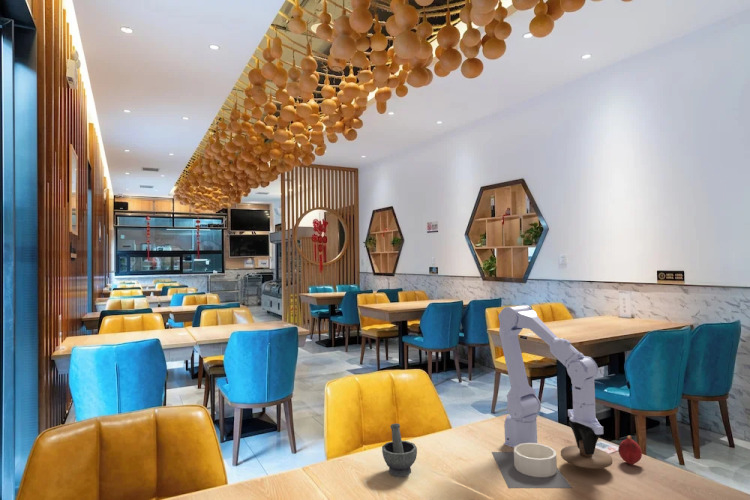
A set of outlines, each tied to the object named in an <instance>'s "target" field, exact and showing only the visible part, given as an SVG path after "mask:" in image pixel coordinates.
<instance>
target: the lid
mask: <svg viewBox="0 0 750 500" xmlns="http://www.w3.org/2000/svg"><path fill="white" fill-rule="evenodd" d="M560 457H561V458H562V459H563V460H564V461H565V462H566V463H568V464H571V465H574V466H577V467H580V468H586V469H596V470H597V469H605V468H609V467H611V466H612V465H613V457H612V455H611V454H610V453H609V452H607V451H604V450H603V449H599V448H596V447H595V451H594V454H590V455H587V454H585V450H584V443H583V440H579V448H578V446H577V445H568V446H565V447H563V448H562V449H561V450H560Z"/></svg>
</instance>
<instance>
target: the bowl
mask: <svg viewBox="0 0 750 500" xmlns="http://www.w3.org/2000/svg"><path fill="white" fill-rule="evenodd" d="M513 452H514V466H515V468H516V470H517V471H518V472H520V473H522V474H524V475H527V476H531V477H538V478H545V477H551V476H553V475H555V474H556V473H557V468H558V465H557V463H558V462H557V461H558V460H557V450H555V449H554V448H552V446H549V445H546V444H542V443H539V444H538V442H537V443H522V444H519V445H517V446H515V447H514V448H513Z"/></svg>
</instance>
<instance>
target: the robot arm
mask: <svg viewBox="0 0 750 500" xmlns="http://www.w3.org/2000/svg"><path fill="white" fill-rule="evenodd" d="M497 316H498V320H499V330H498V333H499V338H500V344H501V347H502V352H503V353H502V354H503V356H504V361H505V366H506V370H507V374H508V381H509V385H510V388H509V391H508V392H507V394H506V399H507V404H506V410H507V413H508V414H507V416H506V417H505V420H504V442H503V445H505V446H507V447H511V448H513V449H514V447H515V446H517V445H519V444H522V443H538V428H537V427H538V422H537V418H538V414H539V413H540V412H541V409H542V404H541V401H540V399H539V398H538V396H537V393H536V390H535V388H533V387H532V386H530V385H529V381H528V376H527V372H526V367H525V362H524V357H523V354H522V349H521V346H520V339H519V335H520V333H521V332H522V330H523V329H527V330H530V331H531V332H533V333H534V334H535V335H536V336H537V337H538V338H540V339H541V340H542V341H543V342H545V343H546V344H547V345H548V346H549V351H550V353H551V354H552V355H553V357H555V358H556V359H557V360H558V362H560V363H561V364H562V365H563V366H564V367H565V368H566V371H567V375H568V376H569V378H570V380H571V384H572V385H571V389H572V392H571V394H572V409H571V408H570V409H567V417H569V421H568V425H569V427H570V428H571V430H572V433H573V435H574V439H575V443H576V446H578V448H579V440H583V443H584V450H585V454H587V455H590V454H594V451H595V448H596V446H597V442H598V440H599V438H600V437H601V435H604V426H602V425H601V424H600V421H598V418H597V417H596V413H597V412H596V392H595V391H596V390H595V389H596V387H595V377H596V376H597V375H598V372H599V367H598V363H596V361H595V360H594V358H592V357H591V356H585V355H584V353H582V352H581V351H579V350H578V349H576V347H574V346H573V344H571V343H572V341H570V340H569V339H566V338H559V337H558V336H557V335H556V334H555V333H554V332H553V331H552V330H551V329H550V328H549V327H548V326H547V325H546V323H545V322H544V321H542V319H541V318H540V317H539V316H538V314H537V311H535V310H534V309H532V307H531V306H529V305H528V304H522V305H517V306H516V305H513V306H506V307H504V308H502V309H501V310H500V312H499V313H498V315H497ZM538 444H540V443H538Z"/></svg>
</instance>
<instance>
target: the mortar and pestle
mask: <svg viewBox="0 0 750 500" xmlns="http://www.w3.org/2000/svg"><path fill="white" fill-rule="evenodd" d="M400 428H401V425H400V423H392V424H391V425H390V429H391V438H392V439H391V441H389V442H385V444H383V445H382V447H381V449H382V451H381V453H382V457H383V460H384V462H385V463H386V466H387V467H388V468H389V469H388V472H389V475H390V474H391V476H392V477H395V478H403V477H407V476H409V475H410V474H411V473H412V466H413V465H414V463H415V461H416V460H417V455H418V447H417V446H416V443H413V442H410V441H407V440H402V436H401V435H402V434H401V430H400Z"/></svg>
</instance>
